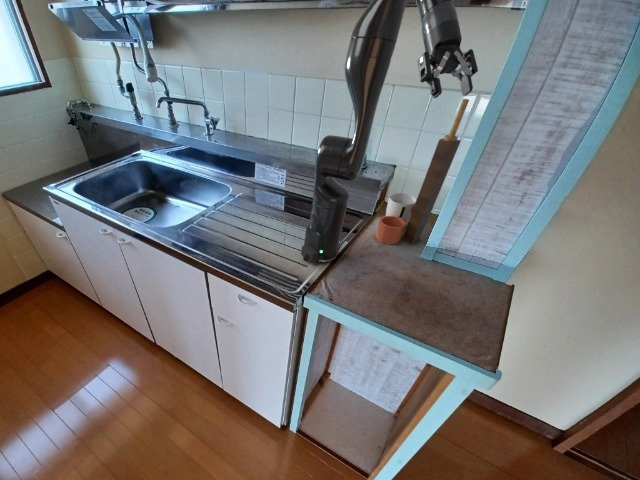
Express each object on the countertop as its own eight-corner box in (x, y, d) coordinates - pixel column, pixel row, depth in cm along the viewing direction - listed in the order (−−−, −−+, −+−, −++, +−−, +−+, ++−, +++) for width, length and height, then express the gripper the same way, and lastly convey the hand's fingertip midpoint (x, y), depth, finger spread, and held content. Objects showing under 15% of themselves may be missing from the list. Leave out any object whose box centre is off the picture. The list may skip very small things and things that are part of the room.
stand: (411, 244, 102) (451, 143, 81) (402, 238, 104) (439, 139, 83) (419, 240, 103) (461, 140, 82) (409, 235, 105) (448, 136, 85)
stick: (451, 142, 81) (467, 101, 75) (440, 139, 83) (456, 99, 77) (459, 140, 82) (476, 99, 76) (448, 137, 84) (464, 97, 78)
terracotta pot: (387, 247, 101) (393, 230, 97) (370, 236, 106) (375, 219, 101) (404, 240, 103) (410, 223, 99) (386, 229, 108) (391, 213, 104)
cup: (392, 234, 106) (401, 206, 99) (375, 223, 111) (384, 195, 104) (411, 229, 108) (422, 201, 101) (394, 218, 113) (403, 191, 107)
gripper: (425, 19, 75) (439, 86, 75) (478, 16, 78) (491, 82, 77) (405, 45, 83) (416, 106, 82) (453, 42, 85) (465, 102, 85)
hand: (452, 94), depth 80 cm, fingers open, 8 cm apart
